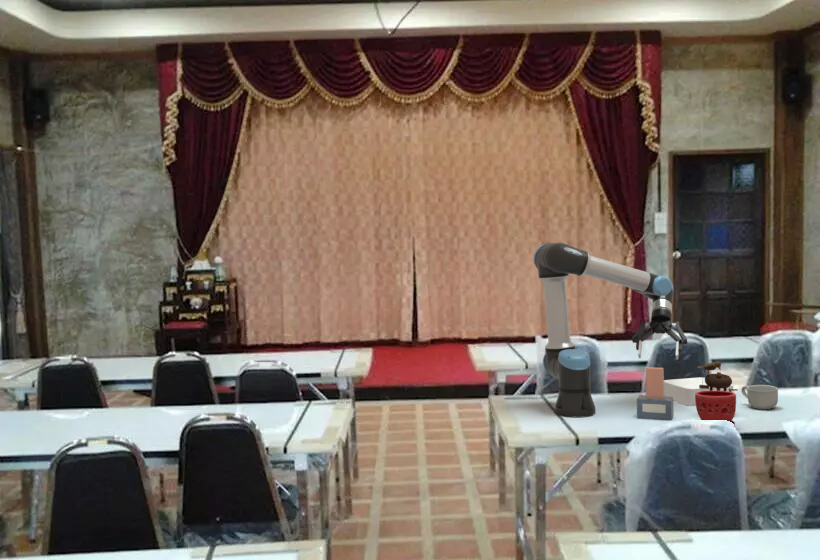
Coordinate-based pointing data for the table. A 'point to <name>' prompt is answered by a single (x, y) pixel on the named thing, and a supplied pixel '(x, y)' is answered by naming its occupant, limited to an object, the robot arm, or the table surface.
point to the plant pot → (716, 412)
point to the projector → (686, 389)
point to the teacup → (761, 396)
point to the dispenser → (655, 408)
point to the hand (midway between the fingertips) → (657, 356)
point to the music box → (716, 378)
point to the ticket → (655, 382)
